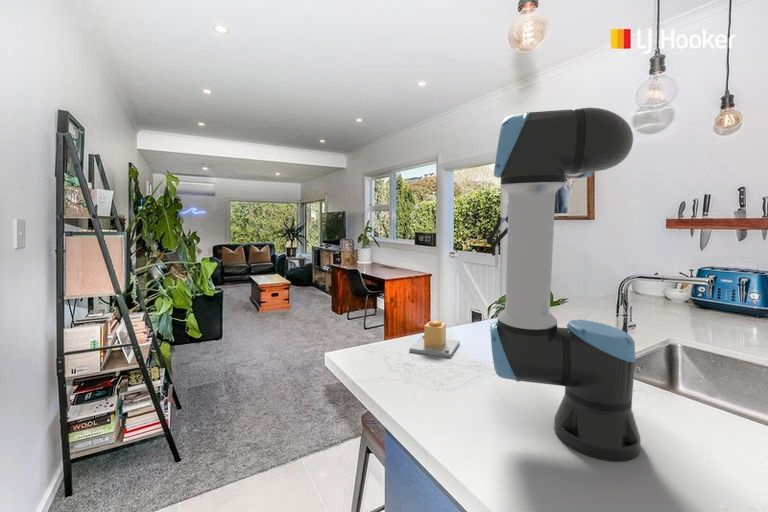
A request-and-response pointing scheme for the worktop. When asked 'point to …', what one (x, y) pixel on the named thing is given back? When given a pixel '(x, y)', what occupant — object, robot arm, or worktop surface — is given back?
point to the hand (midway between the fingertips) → (517, 266)
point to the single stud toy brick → (435, 334)
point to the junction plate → (444, 351)
